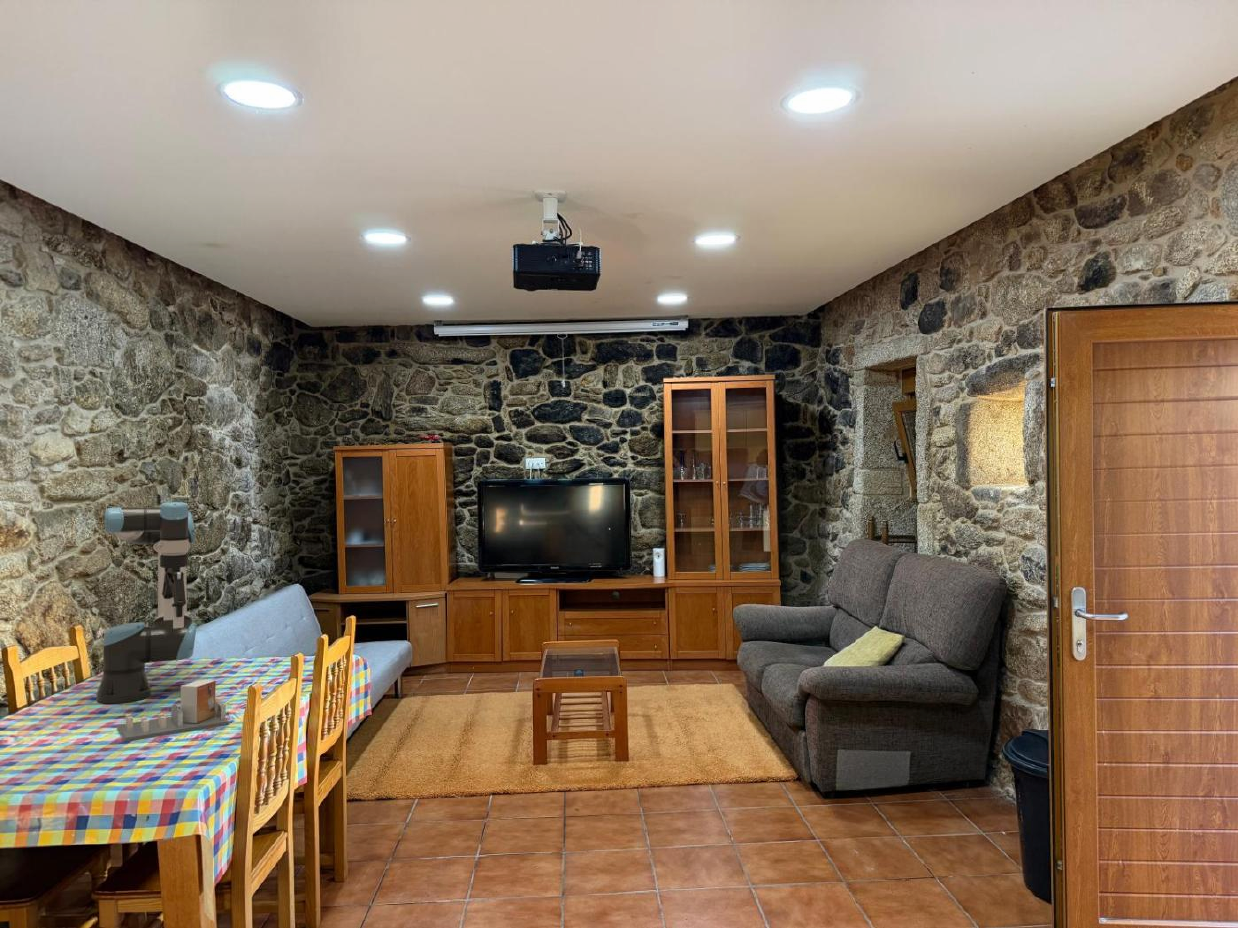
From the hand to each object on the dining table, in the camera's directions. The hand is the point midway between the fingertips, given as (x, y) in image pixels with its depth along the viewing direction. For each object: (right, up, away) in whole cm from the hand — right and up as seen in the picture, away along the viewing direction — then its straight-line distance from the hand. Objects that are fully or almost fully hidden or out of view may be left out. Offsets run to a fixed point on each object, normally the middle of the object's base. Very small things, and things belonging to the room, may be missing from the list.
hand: (173, 623), depth 259 cm
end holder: (+13, -27, -11) cm, 32 cm away
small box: (+13, -26, -11) cm, 31 cm away
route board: (+8, -27, -15) cm, 31 cm away
